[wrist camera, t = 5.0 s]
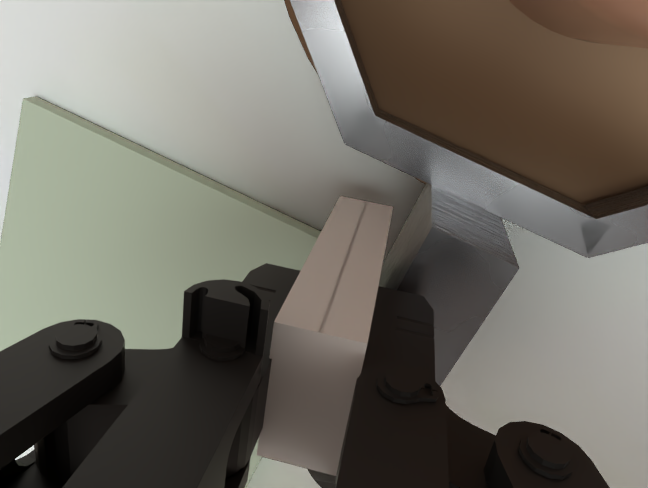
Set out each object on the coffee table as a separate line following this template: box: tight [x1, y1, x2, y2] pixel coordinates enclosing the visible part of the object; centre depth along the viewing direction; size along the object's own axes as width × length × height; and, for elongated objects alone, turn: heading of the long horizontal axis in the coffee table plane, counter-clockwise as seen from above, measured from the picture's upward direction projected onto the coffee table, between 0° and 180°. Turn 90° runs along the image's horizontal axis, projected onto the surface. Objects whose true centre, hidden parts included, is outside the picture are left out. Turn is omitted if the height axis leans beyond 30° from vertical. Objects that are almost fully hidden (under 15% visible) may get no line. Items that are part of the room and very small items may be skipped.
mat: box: [0, 96, 321, 488], centre depth 19 cm, size 12×12×1 cm
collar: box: [290, 0, 648, 488], centre depth 10 cm, size 24×17×6 cm
